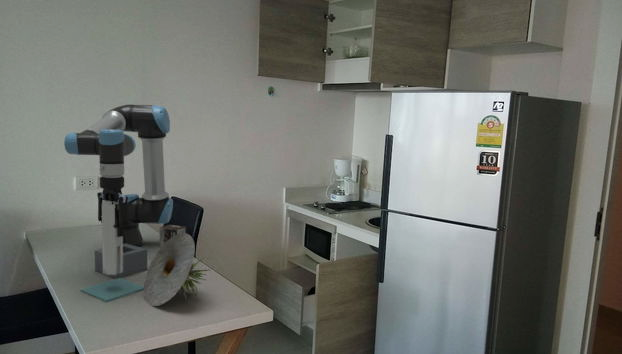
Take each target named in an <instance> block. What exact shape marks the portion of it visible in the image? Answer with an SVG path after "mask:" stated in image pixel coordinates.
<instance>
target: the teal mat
mask: <svg viewBox="0 0 622 354" xmlns="http://www.w3.org/2000/svg"><path fill="white" fill-rule="evenodd" d="M141 291H144V285H141V284H138V283H136V282H133V281H129V280H127V279H124V278H123V277H120V278H117V279H116V278H114V279H111V280H108V281H105V282H104V281H103V282H101V283H98V284H95V285H94V284H93V285H91V286H87V287H84V288H80V292H81V293H83V294H87V295H88V296H91V297H93V298H96V299H99V300H100V301H103V302H105V303H107V302H111V301H114V300H117V299H121V298H123V297H126V296H130V295H132V294H134V293H138V292H141Z"/></svg>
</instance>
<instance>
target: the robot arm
mask: <svg viewBox="0 0 622 354" xmlns="http://www.w3.org/2000/svg"><path fill="white" fill-rule="evenodd" d="M170 129H171V120H170V117H169V112H168V111H167V109H166V107H165V106H162V105H155V104H124V105H120V106H116V107H114V108H112V109H109V110H108V111H106V112H104V114H103V115H102V117H101V118H100V119H99V120H97V121H96V122H95V123H93V124H92V125H90V126H89V127H87V128H85V129H84V130H83V131H81V132H69V133H67V134H66V135H65V136H64V144H63V145H64V150H65V151H66V152H67V154H69V155H77V156H99V168H98V169H99V175H100V177H99V188H100V189H102V192H101V191H100V192H97V194H96V195H97V199H98V200H97V220H98V222H100V223H101V224H102V200H109V201H111V202H112V204H114V203H113V201H114V202H118V210H117V209H115V225H116V226H114V242H115V247H117V246H121V245H123V244H130V245H133V246H136V247H140V248H141V247H142V246H143V244H144V239H143V235H142V233H141V230H140V225H139V224H154V225H155V224H157V225H159V224H161V225H162V224H163V225H164V224H168V223H169V222H170V220H171V219H172V214H173V208H174V199H173V198H171V197H170V196H169V193H168V192H167V191H166V186H165V185H166V184H165V166H164V165H165V163H164V162H165V161H164V143H163V142H164V140H165V138H167V134H169V133H170V131H171V130H170ZM124 132H129V133H130V132H131V133H137V137H138V138H139V139H140V140H141V147H142V163H143V164H142V165H143V179H144V192H143V193H142V195H141V197H140V196H139V194H138V193H129V194H123V193H122V192H123V191H122V189H123V188H125V176H124V175H125V157H126V156H129V155H131V154H132V153H134V151H135V150H136V145H137V144H136V141H135V139H134V138H133V137H132V136H131V135H129V134H126V133H124Z"/></svg>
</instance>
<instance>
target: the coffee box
mask: <svg viewBox="0 0 622 354" xmlns="http://www.w3.org/2000/svg"><path fill="white" fill-rule="evenodd" d="M181 233H186V234H188V227H187V226H182V225H175V224H167V225H164V226H161V227H159V249H160V248H161V247H162V246H163V245H164V244H165V243H166V242H167V241H168V240H169V239H170V238H172V237H174V236H175V235H177V234H181Z"/></svg>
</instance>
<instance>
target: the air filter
mask: <svg viewBox="0 0 622 354" xmlns="http://www.w3.org/2000/svg"><path fill="white" fill-rule="evenodd" d="M113 203H114V204H112V202H111V201H109V200H102V223H101V231H102V232H101V239H102V240H101V241H102V243H101V244H102V247H101V249H102V252H103V275H105V276H108V275H116V274H120V273H122V272H123V245H121V246H117V247H115V242H114V226H116V225H115V209H117V210H118V202H114V201H113Z"/></svg>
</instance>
